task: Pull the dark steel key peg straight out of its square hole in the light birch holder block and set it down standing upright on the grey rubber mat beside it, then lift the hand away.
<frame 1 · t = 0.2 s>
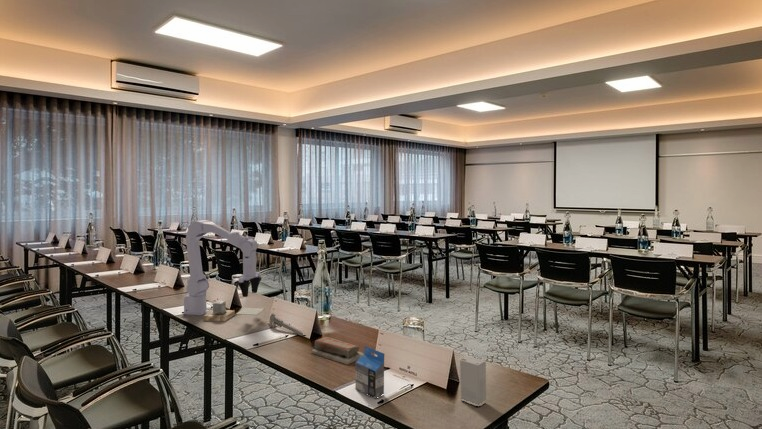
hand: (249, 294, 204), 10 cm above the table, tool pointing down, fingers open, 7 cm apart
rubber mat: (250, 312, 210), on the table
key peg: (219, 317, 200), resting on holder block
holder block: (219, 318, 200), on the table
skincare box: (472, 403, 123), on the table
packaged product: (337, 356, 158), on the table
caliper: (287, 332, 183), on the table
label tape cartridge: (369, 392, 129), on the table
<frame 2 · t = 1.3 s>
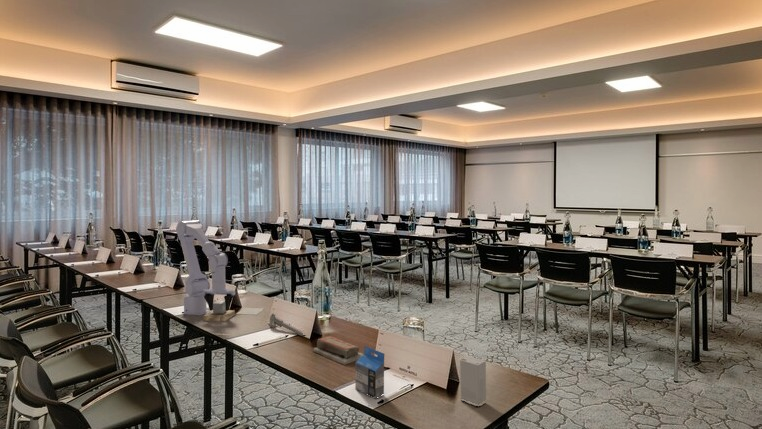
hand: (219, 310, 200), 4 cm above the table, tool pointing down, fingers open, 7 cm apart
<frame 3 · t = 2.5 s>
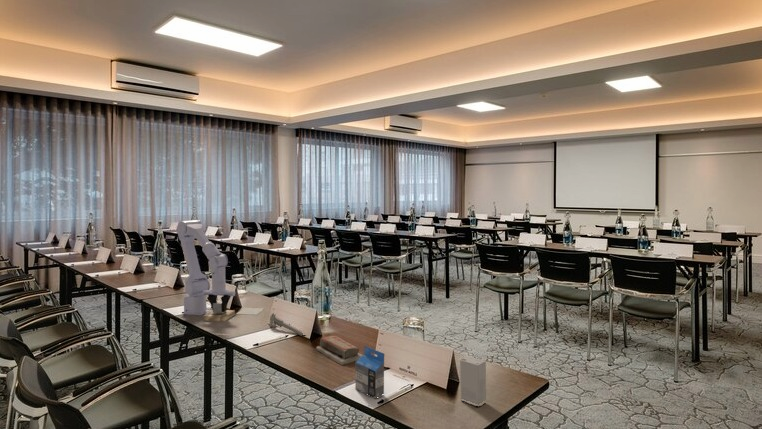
hand: (219, 311, 200), 3 cm above the table, tool pointing down, fingers closed on key peg, 4 cm apart
key peg: (219, 317, 200), resting on holder block, touching gripper
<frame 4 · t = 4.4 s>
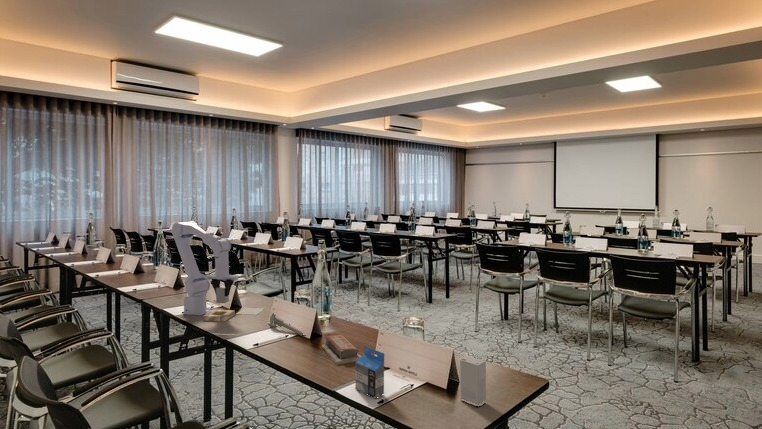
hand: (222, 295, 200), 10 cm above the table, tool pointing down, fingers closed on key peg, 4 cm apart
key peg: (222, 302, 200), point 7 cm above the table, touching gripper
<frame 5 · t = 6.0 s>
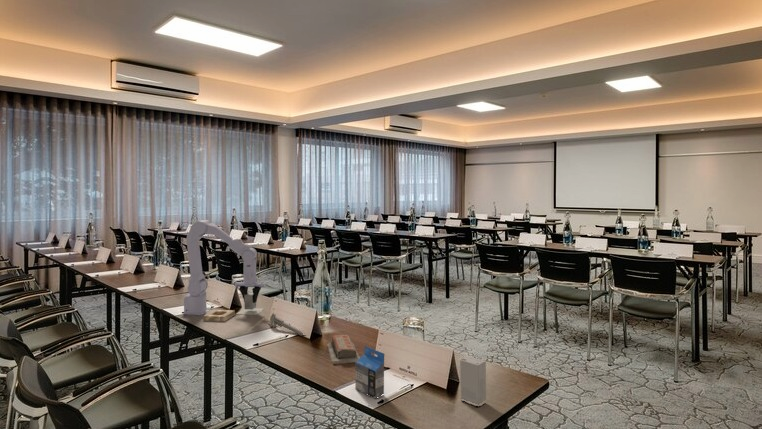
hand: (250, 302, 209), 5 cm above the table, tool pointing down, fingers closed on key peg, 4 cm apart
key peg: (250, 308, 209), point 2 cm above the table, touching gripper
when the fingers open (5 cm above the table, at t = 6.8 s): key peg drops 1 cm, resting on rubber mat.
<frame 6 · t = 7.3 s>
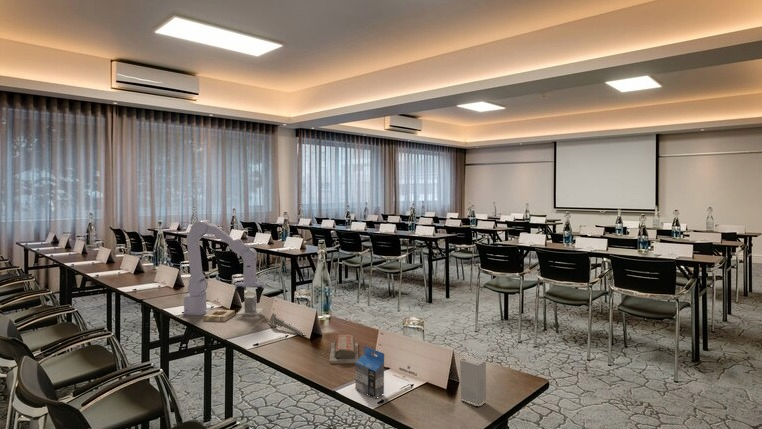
hand: (250, 302, 209), 5 cm above the table, tool pointing down, fingers open, 7 cm apart
key peg: (250, 311, 209), point 1 cm above the table, touching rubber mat
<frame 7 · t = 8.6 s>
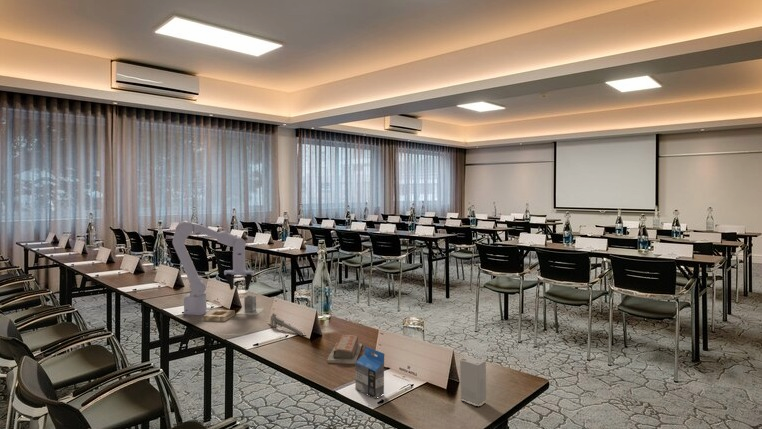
hand: (239, 289, 216), 9 cm above the table, tool pointing down, fingers open, 7 cm apart
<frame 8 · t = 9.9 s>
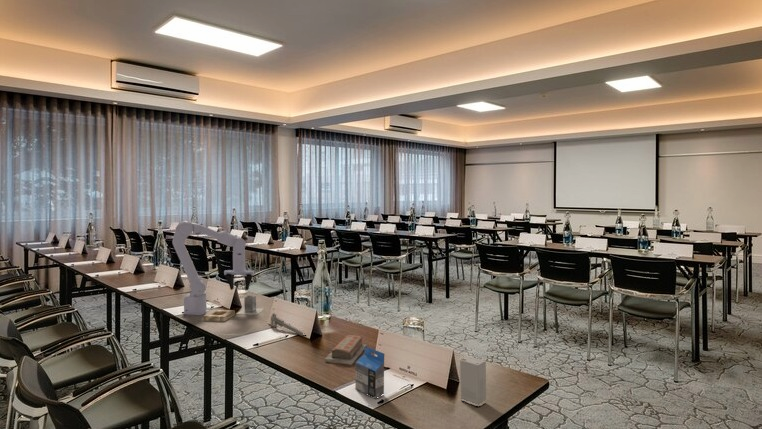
hand: (239, 289, 216), 9 cm above the table, tool pointing down, fingers open, 7 cm apart
at the end: key peg inside the target area on the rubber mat (0.1 cm from its centre), point 0.6 cm above the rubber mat's base; key peg tilted 0°; the gripper is holding nothing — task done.
